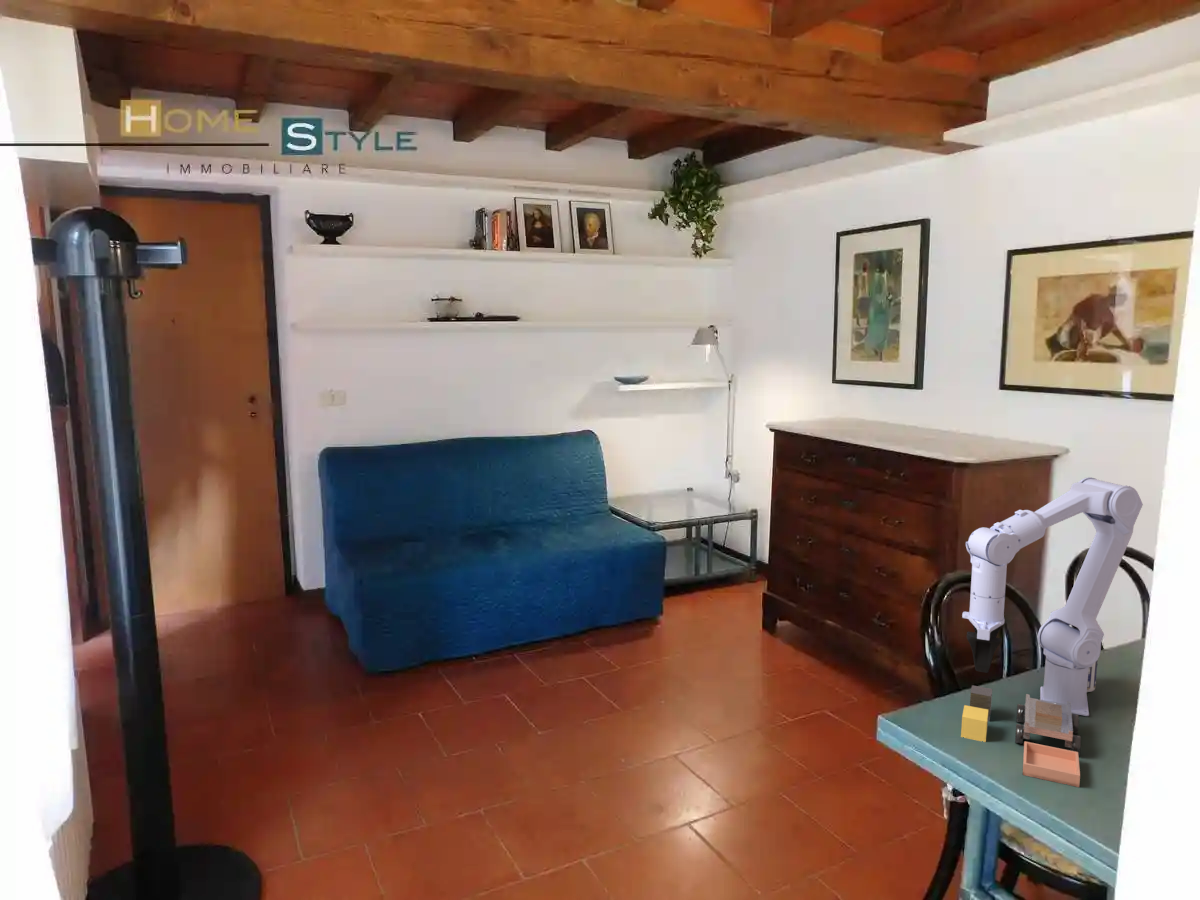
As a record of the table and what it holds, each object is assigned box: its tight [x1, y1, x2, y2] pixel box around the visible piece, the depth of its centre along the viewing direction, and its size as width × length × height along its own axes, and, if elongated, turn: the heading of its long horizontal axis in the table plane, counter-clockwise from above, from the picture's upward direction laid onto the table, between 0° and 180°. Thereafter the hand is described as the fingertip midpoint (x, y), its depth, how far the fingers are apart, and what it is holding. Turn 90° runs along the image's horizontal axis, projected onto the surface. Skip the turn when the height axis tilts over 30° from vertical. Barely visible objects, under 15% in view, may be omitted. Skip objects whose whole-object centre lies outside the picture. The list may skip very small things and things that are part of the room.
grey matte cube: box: [969, 685, 993, 722], centre depth 153 cm, size 4×4×5 cm
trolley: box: [1014, 693, 1082, 757], centre depth 145 cm, size 12×10×6 cm
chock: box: [960, 704, 989, 743], centre depth 147 cm, size 5×4×4 cm
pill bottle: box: [1087, 658, 1099, 693], centre depth 164 cm, size 5×5×10 cm
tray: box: [1022, 740, 1081, 788], centre depth 135 cm, size 8×8×2 cm
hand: (983, 663), depth 152 cm, fingers open, 7 cm apart
